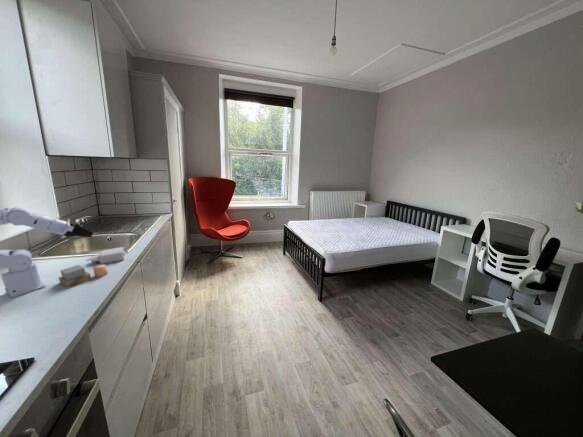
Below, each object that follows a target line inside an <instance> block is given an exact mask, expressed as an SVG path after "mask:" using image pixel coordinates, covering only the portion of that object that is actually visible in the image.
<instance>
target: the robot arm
mask: <svg viewBox="0 0 583 437" xmlns="http://www.w3.org/2000/svg"><path fill="white" fill-rule="evenodd" d="M70 222H71V219H70V218H68V219H66V220H63V219H58V218H55V217H52V216H51V217H50V216H48V215H44V214H41V213H36V212H31V211H28V210H27V209H25V208H22V207H12V208H9V207H4V208H0V226H1V225H8V224H12V225H13V226H25V227H29V228H31V229H35V230H36V229H37V230H40V231H45V232H49V233H52V234H57V235H59V236H65V237H82V238H84V237H85V238H92V236H93V235H94V232H93V231H91V230H89V229H86V228H84V227H83V226H81V225H79V223H78V222H77V223H75V224H74V223H70ZM32 258H33V253H31V251H29V250H28V249H26V248H25V249H24V248H20V249H0V268H5V269H8V271H6V272H3V273H1V274H0V276H1V280H2V282H3V286H4V290H5V292H6V293H7V294H8V296H9V297H10V298H15V297H19V296H21V295H25V294H26V293H30V292H32V291H36V290H39V289H42V288H45V287H46V284H45V283H44V282H42V280H41V277H40V274H39V271H38V268H37V265H36V263H35V262H32V261H33V260H32Z"/></svg>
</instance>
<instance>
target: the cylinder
mask: <svg viewBox="0 0 583 437" xmlns="http://www.w3.org/2000/svg"><path fill="white" fill-rule="evenodd" d="M92 269H93V270H92V271H93V275H94V277H95V278H103V277H105V276H107V275H108V270H107V265H106V264H99V265H96V266H94V267H92Z"/></svg>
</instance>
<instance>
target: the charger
mask: <svg viewBox="0 0 583 437" xmlns="http://www.w3.org/2000/svg"><path fill="white" fill-rule="evenodd" d="M124 260H125V249H124V247H123V246H120V247H115V248H110V249H109V248H108V249H104V250H101V251H100V252H99V254H97V255H92V256H91V257H89V258H87V259H86V262H87V261H88V262H89V261H91V263H94V262H99V263H100V265H106V264H109V263H115V262H120V261H124Z"/></svg>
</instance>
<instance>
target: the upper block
mask: <svg viewBox="0 0 583 437" xmlns="http://www.w3.org/2000/svg"><path fill="white" fill-rule="evenodd" d="M85 272H86V270H85V267H83V266H81V265H79V264H77V265H74V266H71V267H67V268H64V269H61V270H60V274H61V277H63V278H64V279H66V280H67V281H68V280H71V279H74V278H77V277H80V276H83V275H86V273H85Z"/></svg>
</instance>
